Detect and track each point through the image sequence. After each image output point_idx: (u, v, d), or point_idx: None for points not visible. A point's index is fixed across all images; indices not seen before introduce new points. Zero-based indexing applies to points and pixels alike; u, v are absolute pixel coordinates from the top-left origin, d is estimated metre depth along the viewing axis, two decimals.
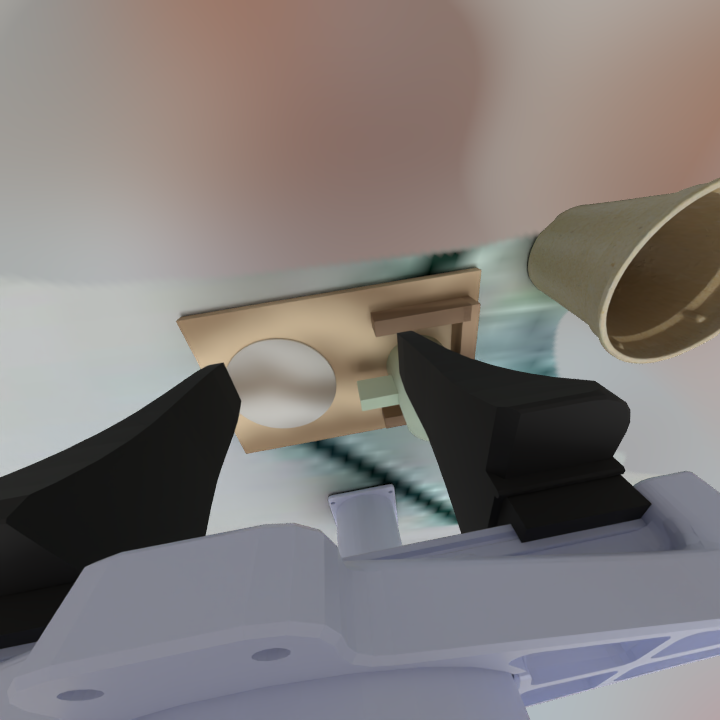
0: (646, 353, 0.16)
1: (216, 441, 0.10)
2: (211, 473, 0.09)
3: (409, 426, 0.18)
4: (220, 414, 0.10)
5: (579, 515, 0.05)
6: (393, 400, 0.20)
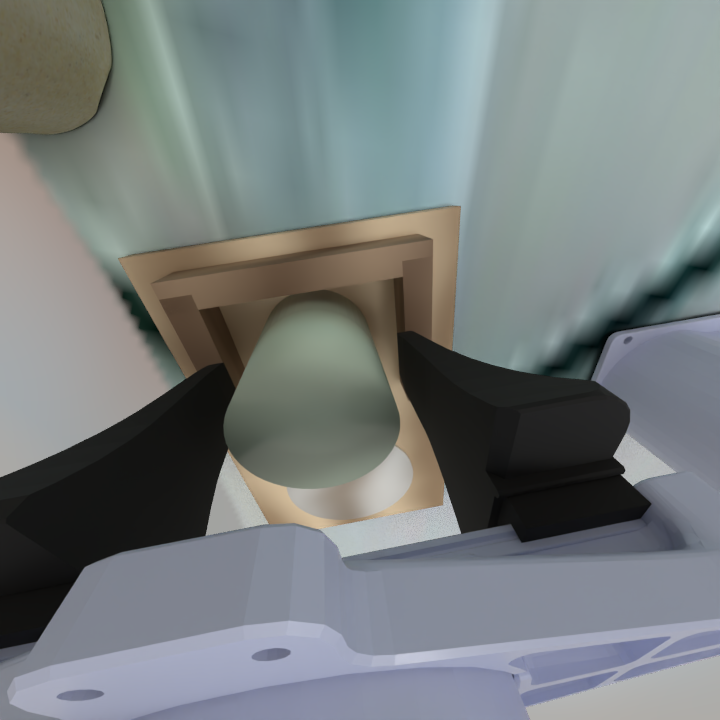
0: None
1: (216, 441, 0.10)
2: (211, 473, 0.09)
3: (346, 480, 0.10)
4: (220, 414, 0.10)
5: (579, 515, 0.05)
6: None
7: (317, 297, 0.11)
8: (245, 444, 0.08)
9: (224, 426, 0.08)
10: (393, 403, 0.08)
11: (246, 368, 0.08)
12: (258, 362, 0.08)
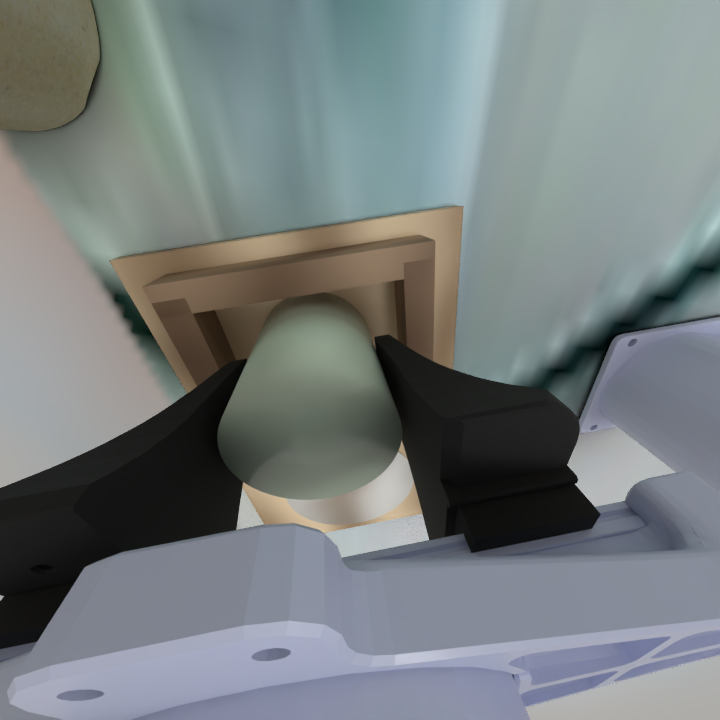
0: None
1: None
2: None
3: (346, 491, 0.09)
4: None
5: (527, 525, 0.05)
6: None
7: (315, 300, 0.11)
8: (240, 455, 0.08)
9: (218, 437, 0.07)
10: (395, 412, 0.08)
11: (241, 375, 0.08)
12: (253, 369, 0.07)
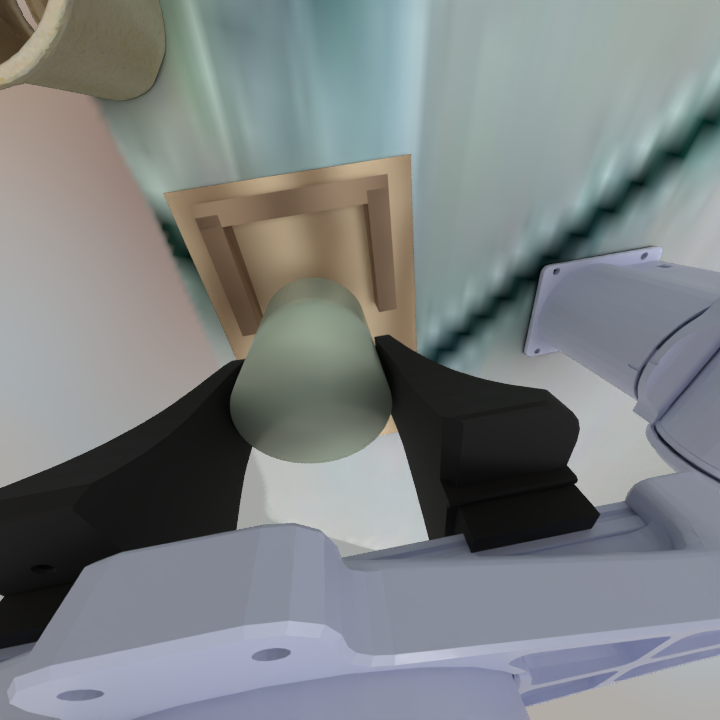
0: None
1: None
2: (239, 467, 0.09)
3: (343, 455, 0.10)
4: None
5: (527, 525, 0.05)
6: None
7: (314, 285, 0.12)
8: (250, 421, 0.09)
9: (230, 404, 0.08)
10: (385, 383, 0.09)
11: (249, 352, 0.09)
12: (260, 346, 0.08)
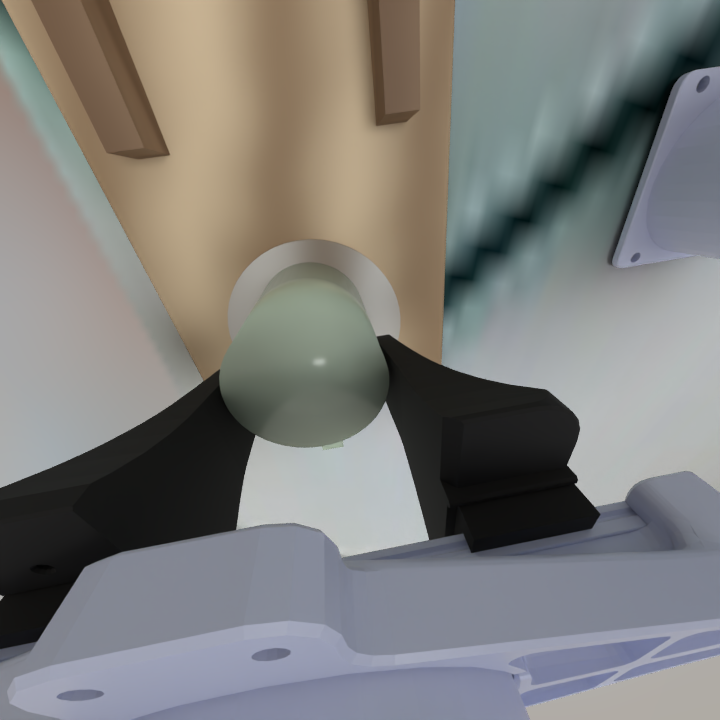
0: None
1: (242, 436, 0.10)
2: (238, 467, 0.09)
3: (338, 439, 0.10)
4: None
5: (527, 526, 0.05)
6: None
7: (312, 268, 0.12)
8: (240, 397, 0.08)
9: (220, 377, 0.08)
10: (382, 358, 0.08)
11: (242, 326, 0.09)
12: (253, 316, 0.08)
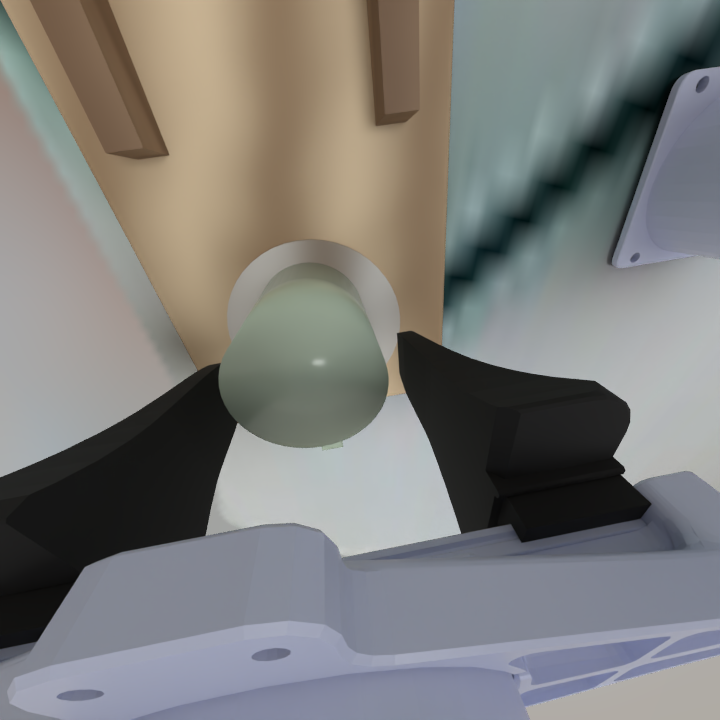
0: None
1: (216, 441, 0.10)
2: (211, 473, 0.09)
3: (337, 440, 0.10)
4: (220, 414, 0.10)
5: (579, 515, 0.05)
6: None
7: (311, 268, 0.12)
8: (239, 397, 0.08)
9: (219, 377, 0.08)
10: (381, 358, 0.08)
11: (241, 326, 0.09)
12: (252, 317, 0.08)
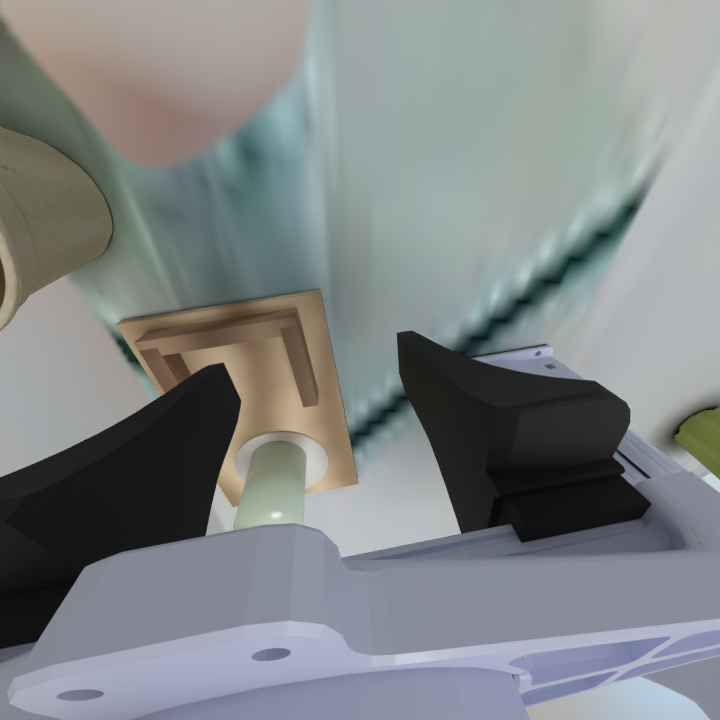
0: None
1: (216, 441, 0.10)
2: (211, 473, 0.09)
3: None
4: (220, 414, 0.10)
5: (578, 515, 0.05)
6: None
7: (276, 450, 0.24)
8: None
9: (233, 526, 0.21)
10: (298, 516, 0.21)
11: (242, 499, 0.21)
12: (246, 501, 0.21)
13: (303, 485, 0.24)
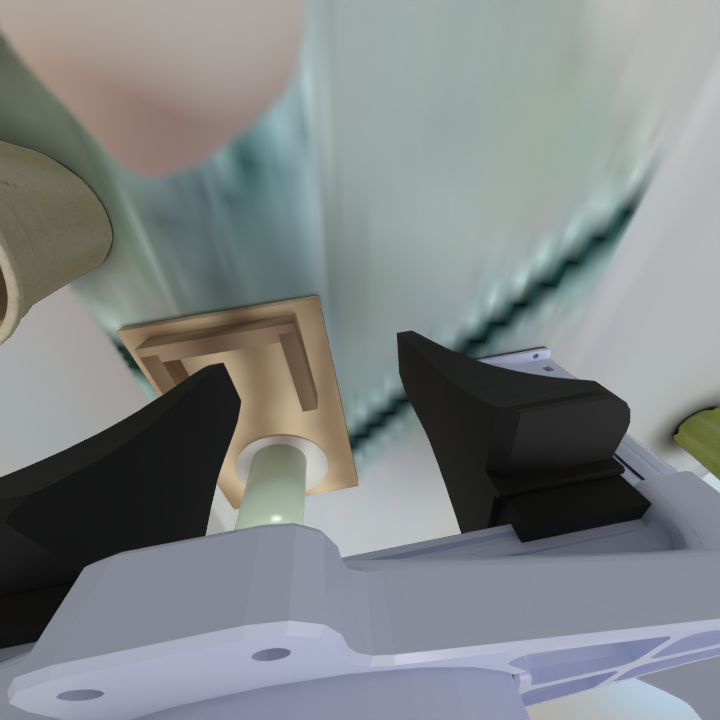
0: None
1: (216, 441, 0.10)
2: (211, 473, 0.09)
3: None
4: (220, 414, 0.10)
5: (578, 515, 0.05)
6: None
7: (276, 454, 0.24)
8: None
9: (234, 529, 0.21)
10: (298, 519, 0.21)
11: (243, 503, 0.22)
12: (247, 505, 0.21)
13: (303, 488, 0.24)
